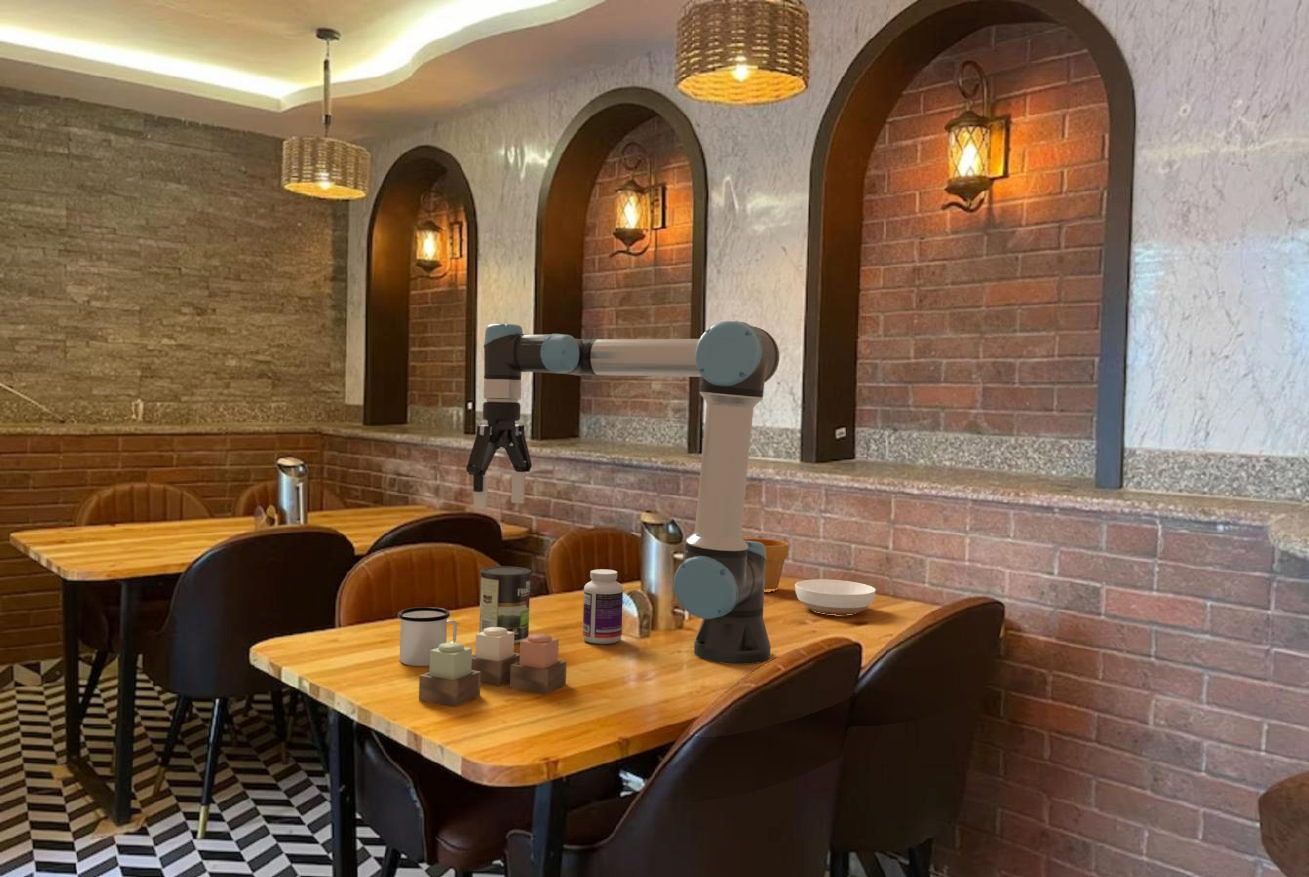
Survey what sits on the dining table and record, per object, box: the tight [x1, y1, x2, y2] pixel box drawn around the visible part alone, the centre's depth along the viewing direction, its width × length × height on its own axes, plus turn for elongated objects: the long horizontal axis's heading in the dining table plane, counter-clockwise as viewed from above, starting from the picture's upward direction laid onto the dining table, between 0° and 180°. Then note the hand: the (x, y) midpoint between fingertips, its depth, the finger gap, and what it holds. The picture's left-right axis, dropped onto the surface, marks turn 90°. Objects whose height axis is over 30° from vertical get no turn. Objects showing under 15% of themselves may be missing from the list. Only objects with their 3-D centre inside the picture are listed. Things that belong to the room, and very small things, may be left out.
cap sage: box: [428, 642, 473, 680], centre depth 158 cm, size 5×5×7 cm
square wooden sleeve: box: [471, 652, 520, 687], centre depth 170 cm, size 7×7×4 cm
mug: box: [397, 606, 458, 667], centre depth 181 cm, size 12×10×9 cm
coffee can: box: [478, 565, 532, 645], centre depth 199 cm, size 10×10×14 cm
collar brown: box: [509, 659, 567, 696], centre depth 167 cm, size 7×7×4 cm
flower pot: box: [742, 537, 790, 590], centre depth 262 cm, size 14×14×13 cm
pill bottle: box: [582, 568, 624, 645], centre depth 200 cm, size 8×8×14 cm
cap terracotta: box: [519, 633, 560, 669], centre depth 167 cm, size 5×5×7 cm
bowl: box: [794, 578, 877, 615], centre depth 238 cm, size 20×20×6 cm
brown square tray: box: [418, 670, 481, 708], centre depth 158 cm, size 7×7×4 cm
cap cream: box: [474, 627, 515, 662], centre depth 170 cm, size 5×5×7 cm
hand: (499, 505), depth 197 cm, fingers open, 13 cm apart
